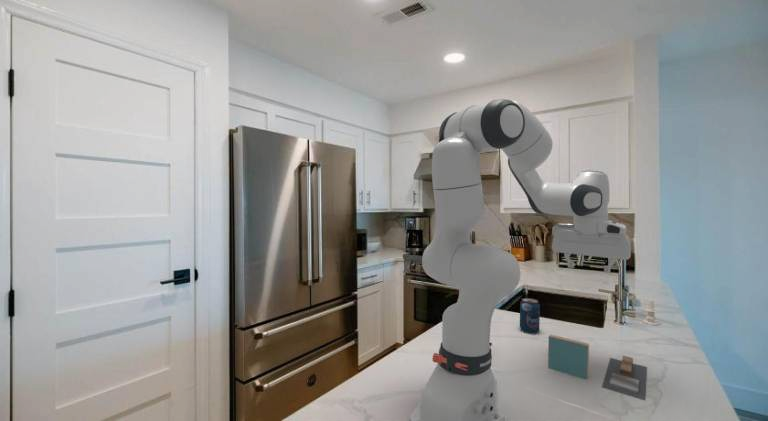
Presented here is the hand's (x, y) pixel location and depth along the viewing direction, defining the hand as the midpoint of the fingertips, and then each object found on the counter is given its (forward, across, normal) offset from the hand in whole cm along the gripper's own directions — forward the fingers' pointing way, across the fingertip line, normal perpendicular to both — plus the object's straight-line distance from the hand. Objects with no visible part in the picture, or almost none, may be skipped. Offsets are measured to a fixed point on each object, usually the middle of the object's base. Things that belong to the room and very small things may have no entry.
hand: (588, 269), depth 100 cm
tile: (+28, -3, -14) cm, 31 cm away
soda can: (+31, -20, +14) cm, 39 cm away
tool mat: (+28, +11, -6) cm, 31 cm away
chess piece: (+33, +17, +56) cm, 67 cm away
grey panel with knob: (+28, +11, -6) cm, 30 cm away
